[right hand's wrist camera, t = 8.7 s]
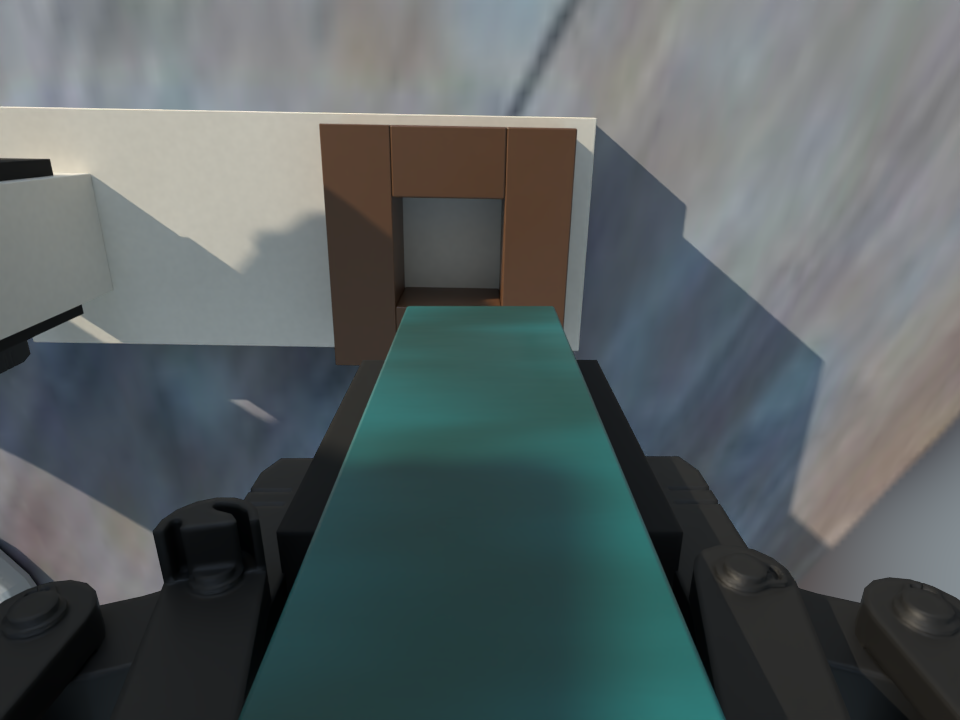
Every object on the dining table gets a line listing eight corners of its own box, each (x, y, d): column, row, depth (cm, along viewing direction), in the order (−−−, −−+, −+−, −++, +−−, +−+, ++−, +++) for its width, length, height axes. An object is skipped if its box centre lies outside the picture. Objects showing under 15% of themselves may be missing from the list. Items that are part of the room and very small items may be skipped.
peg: (554, 305, 16) (845, 988, 3) (548, 437, 18) (737, 1280, 5) (406, 305, 16) (119, 988, 3) (412, 437, 18) (227, 1280, 5)
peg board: (590, 118, 31) (668, 110, 18) (573, 339, 36) (627, 461, 23) (3, 107, 31) (-340, 91, 18) (56, 331, 36) (-191, 449, 22)
